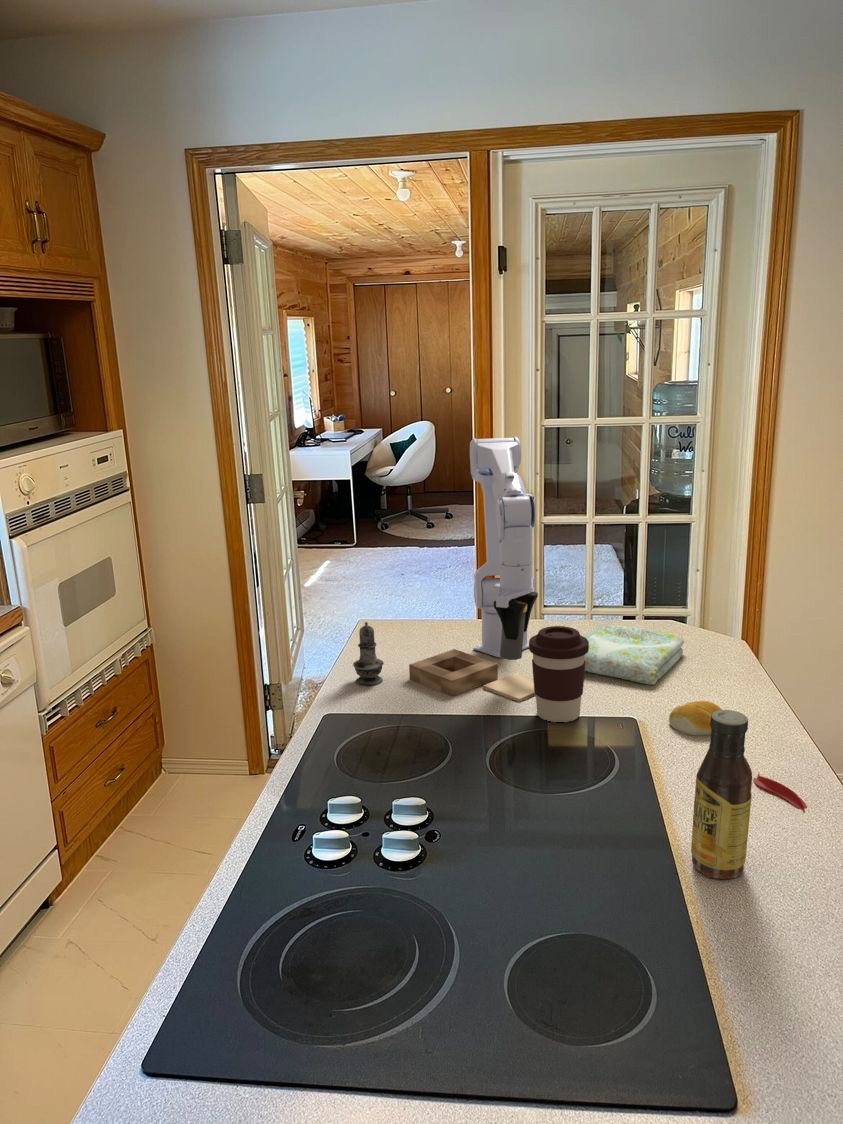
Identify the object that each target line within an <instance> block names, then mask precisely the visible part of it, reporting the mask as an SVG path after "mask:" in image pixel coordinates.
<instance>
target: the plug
mask: <svg viewBox="0 0 843 1124" xmlns="http://www.w3.org/2000/svg"><path fill="white" fill-rule="evenodd" d="M517 603H520V604H526V603H524V602H521V601H517ZM526 611H527V604H526V606H525V608H524V611H523V613H522V617H521V621H520V629H519V636H518V639H517V640H512V639H506V637H505V634H504V630H503V626H502V636H501V648H500V656H501V658H502V659H506V660H510V661H517V660H520V659H522V656H523V650H522V647H523V636H524V625H525V613H526Z"/></svg>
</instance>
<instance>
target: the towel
mask: <svg viewBox="0 0 843 1124" xmlns="http://www.w3.org/2000/svg"><path fill="white" fill-rule="evenodd" d="M582 636H583V637H585V638H586V639H587V640H588V642H589V651H588V653H586V654H585V658H584V660H585V672H588V673H592V674H597V675H602V676H607V677H609V678H616V679H617V678H618V679H620V678H621V679H622V680H625V681H629V680H630V682H635V683H640V684H644V685H649V686H650V685H651V686H653V685H656V683H658V681H659V680H661V678H663V676H664V675H665V674H666V673H668V671H669V670H670V669H671V668H673V666H674V665H675V664H676V663H677V662H678V661H679V660H680V659H681V658H682V656H683V653H684V649H683V648H682V647H683V646H684V644H685V640H684V639H683V637H681V636H679V634H676V633H672V632H666V631H662V630H661V631H660V630H654V629H648V628H643V627H637V626H627V625H600V626H597V627H596V628H595V629H594V630H592V631H590V632H589V633H587V634H585V635H582ZM680 657H681V658H680Z"/></svg>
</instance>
